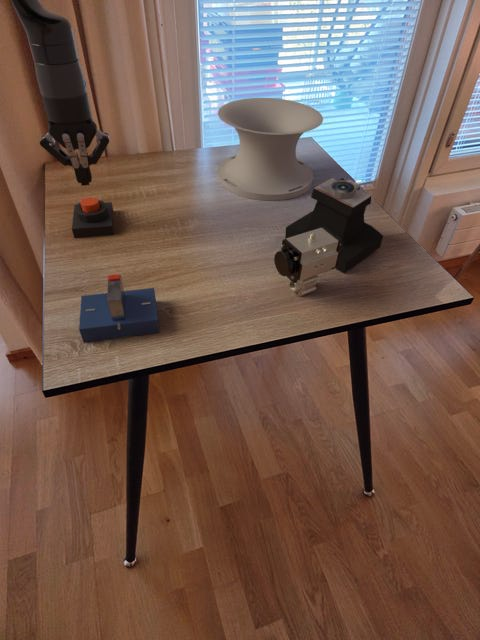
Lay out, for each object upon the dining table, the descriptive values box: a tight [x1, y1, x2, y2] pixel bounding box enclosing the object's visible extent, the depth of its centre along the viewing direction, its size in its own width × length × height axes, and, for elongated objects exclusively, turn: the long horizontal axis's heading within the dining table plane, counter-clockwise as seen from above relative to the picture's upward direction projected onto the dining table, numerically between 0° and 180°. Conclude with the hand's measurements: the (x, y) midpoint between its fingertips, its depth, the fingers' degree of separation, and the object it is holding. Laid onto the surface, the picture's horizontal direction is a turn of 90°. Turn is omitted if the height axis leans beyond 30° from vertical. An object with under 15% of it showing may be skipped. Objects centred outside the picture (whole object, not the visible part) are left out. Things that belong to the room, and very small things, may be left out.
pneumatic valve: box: [273, 227, 343, 297], centre depth 73 cm, size 6×12×12 cm, turn 120°
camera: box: [284, 177, 384, 274], centre depth 84 cm, size 16×14×15 cm
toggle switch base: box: [78, 287, 161, 343], centre depth 69 cm, size 12×10×3 cm
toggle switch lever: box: [107, 274, 125, 320], centre depth 66 cm, size 6×2×4 cm, turn 12°
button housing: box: [71, 199, 115, 239], centre depth 89 cm, size 8×10×4 cm
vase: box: [217, 97, 324, 202], centre depth 104 cm, size 25×25×16 cm
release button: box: [80, 196, 100, 212], centre depth 87 cm, size 4×4×2 cm
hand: (85, 183), depth 84 cm, fingers closed
